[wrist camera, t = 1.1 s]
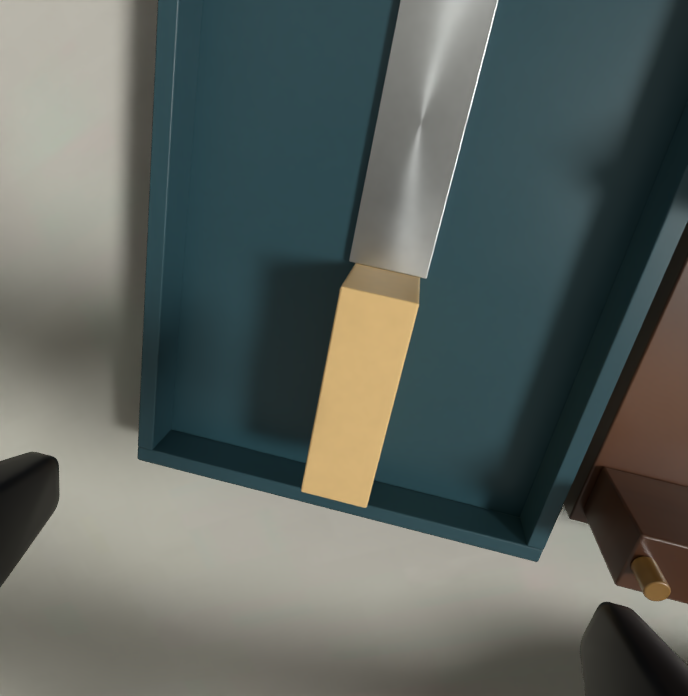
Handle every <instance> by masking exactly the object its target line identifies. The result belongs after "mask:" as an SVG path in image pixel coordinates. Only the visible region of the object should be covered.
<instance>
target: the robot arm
mask: <svg viewBox="0 0 688 696" xmlns="http://www.w3.org/2000/svg"><path fill="white" fill-rule="evenodd" d="M58 501H59V464H58V461H57V459H56V458H54V457H53V456H49V455H45V454H41V453H37V452H28V453H25V454H22V455H19V456H15V457H12V458H9V459H6V460H3V461H0V587H1V586H2V584H3V583H4V582H5V580H6V579H7V578H8V576H9V575H10V573H11V572H12V571H13V569H14V568H15V566H16V565H17V563H18V562H19V561H20V559H21V558H22V556H23V555H24V554H25V552H26V551H27V549H28V548H29V546H30V545H31V544H32V542H33V541H34V539H35V538H36V537H37V535H38V534H39V532H40V531H41V529H42V528H43V527H44V525H45V524H46V522H47V521H48V520H49V518H50V517H51V515H52V514H53V512H54V511H55V509H56V507H57V504H58ZM580 656H581V664H582V672H583V680H584V688H585V695H586V696H688V666H687V665H686V664H685V663H684V662H683V661H682V660H681V659H680V658H679V657H678V656H677V655H676V654H675V653H674V652H673V651H672V650H671V649H670V648H669V647H668V645H667V644H666V643H665V642H664V641H663V640H662V639H661V638H660V637H659V636H658V635H657V634H656V633H655V632H654V631H653V630H652V629H651V628H650V627H649V626H648V625H647V624H646V623H645V622H644V621H643V620H642V619H641V618H640V617H639V616H638V615H637V614H636V613H635V612H634V611H633V610H632V609H630V608H628V607H625V606H621V605H617V604H614V603H610V602H603V603H601V604H600V605H599V606H598V608H597V610H596V611H595V613H594V615H593V617H592V619H591V621H590V623H589V625H588V627H587V629H586V631H585V632H584V634H583V637H582V640H581V645H580Z"/></svg>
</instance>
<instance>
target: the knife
mask: <svg viewBox="0 0 688 696" xmlns="http://www.w3.org/2000/svg"><path fill="white" fill-rule="evenodd" d="M498 2H499V0H400V5H399V10H398V15H397V21H396V26H395V31H394V36H393V41H392V46H391V51H390V56H389V61H388V66H387V71H386V76H385V81H384V86H383V91H382V97H381V102H380V107H379V112H378V117H377V122H376V127H375V132H374V137H373V142H372V147H371V152H370V157H369V162H368V167H367V172H366V178H365V183H364V188H363V193H362V198H361V203H360V208H359V213H358V218H357V223H356V228H355V233H354V238H353V243H352V248H351V253H350V259H349V262H353V263H355V265H354V266H353V268H352V270H351V271H350V273H349V275H348V276H347V278H346V279H345V281H344V283H343V284H342V286H341V287H340V291H339V296H338V302H337V307H336V312H335V317H334V322H333V327H332V332H331V337H330V343H329V348H328V353H327V358H326V363H325V368H324V373H323V379H322V384H321V389H320V394H319V399H318V404H317V409H316V415H315V420H314V425H313V430H312V435H311V440H310V445H309V450H308V456H307V461H306V466H305V471H304V476H303V481H302V486H301V491H302V492H304V493H308V494H312V495H316V496H320V497H324V498H328V499H332V500H336V501H339V502H343V503H347V504H351V505H355V506H359V507H363V508H366V507H367V505H368V501H369V497H370V493H371V489H372V485H373V481H374V478H375V474H376V470H377V466H378V462H379V458H380V454H381V451H382V447H383V443H384V439H385V435H386V431H387V427H388V424H389V420H390V416H391V412H392V408H393V404H394V400H395V396H396V393H397V389H398V385H399V381H400V377H401V373H402V369H403V366H404V362H405V358H406V354H407V350H408V346H409V342H410V339H411V335H412V331H413V327H414V323H415V319H416V315H417V311H418V308H419V293H420V278H424V279H426V278H427V276H428V272H429V268H430V264H431V260H432V256H433V252H434V249H435V245H436V241H437V237H438V233H439V229H440V225H441V222H442V218H443V214H444V210H445V206H446V202H447V198H448V195H449V191H450V187H451V183H452V179H453V175H454V171H455V168H456V164H457V160H458V156H459V152H460V148H461V144H462V141H463V137H464V133H465V129H466V125H467V121H468V117H469V114H470V110H471V106H472V102H473V98H474V94H475V90H476V87H477V83H478V79H479V75H480V71H481V67H482V63H483V60H484V56H485V52H486V48H487V44H488V40H489V36H490V33H491V29H492V25H493V21H494V17H495V13H496V10H497V6H498Z"/></svg>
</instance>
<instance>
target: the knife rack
mask: <svg viewBox="0 0 688 696" xmlns="http://www.w3.org/2000/svg"><path fill="white" fill-rule="evenodd" d="M564 506H565V509H566V511H567V514H568V516H569V518H570V519H572V520H576V521H580V522H584V523H588V524H589V526H590V528H591V530H592V533H593V535H594V537H595V539H596V542H597V544H598V546H599V549H600V551H601V553H602V555H603V558H604V560H605V562H606V565H607V567H608V569H609V571H610V574H611V576H612V578H613V581H614V583H615V584H616V585H617V586H621V587H625V588H629V589H633V590H636V591H640V592H643V594H644V596H645V597H646V598H648V599H649V600H652V601H662V600H664V599H666V598H667V599H671V600H675V601H679V602H683V603H687V604H688V221H687V224H686V226H685V228H684V231H683V233H682V235H681V237H680V240H679V242H678V244H677V246H676V249H675V251H674V253H673V256H672V258H671V260H670V262H669V265H668V267H667V269H666V272H665V274H664V276H663V278H662V281H661V283H660V285H659V287H658V290H657V292H656V294H655V297H654V299H653V301H652V303H651V306H650V308H649V310H648V313H647V315H646V317H645V319H644V322H643V324H642V326H641V328H640V331H639V333H638V335H637V338H636V340H635V342H634V344H633V347H632V349H631V351H630V354H629V356H628V358H627V360H626V363H625V365H624V367H623V369H622V372H621V374H620V376H619V379H618V381H617V383H616V385H615V388H614V390H613V392H612V395H611V397H610V399H609V401H608V404H607V406H606V408H605V410H604V413H603V415H602V417H601V420H600V422H599V424H598V426H597V429H596V431H595V433H594V436H593V438H592V440H591V442H590V445H589V447H588V449H587V451H586V454H585V456H584V458H583V461H582V463H581V465H580V467H579V470H578V472H577V474H576V477H575V479H574V481H573V483H572V486H571V488H570V490H569V492H568V495H567V497H566V499H565V502H564Z"/></svg>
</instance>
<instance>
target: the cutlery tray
mask: <svg viewBox="0 0 688 696" xmlns="http://www.w3.org/2000/svg"><path fill="white" fill-rule="evenodd" d="M399 5H400V0H158V14H157V36H156V58H155V80H154V103H153V125H152V147H151V169H150V191H149V214H148V236H147V258H146V280H145V302H144V324H143V347H142V369H141V391H140V413H139V435H138V446H139V447H138V459H139V460H142V461H146V462H150V463H154V464H158V465H162V466H166V467H170V468H173V469H177V470H181V471H185V472H189V473H193V474H197V475H201V476H205V477H208V478H212V479H216V480H220V481H224V482H228V483H232V484H236V485H240V486H244V487H247V488H251V489H255V490H259V491H263V492H267V493H271V494H275V495H279V496H282V497H286V498H290V499H294V500H298V501H302V502H306V503H310V504H314V505H317V506H321V507H325V508H329V509H333V510H337V511H341V512H345V513H349V514H352V515H356V516H360V517H364V518H368V519H372V520H376V521H380V522H384V523H387V524H391V525H395V526H399V527H403V528H407V529H411V530H415V531H419V532H422V533H426V534H430V535H434V536H438V537H442V538H446V539H450V540H454V541H457V542H461V543H465V544H469V545H473V546H477V547H481V548H485V549H489V550H493V551H496V552H500V553H504V554H508V555H512V556H516V557H520V558H524V559H528V560H531V561H535V562H538V560H539V558H540V555H541V553H542V551H543V550H542V549H544V547H545V545H546V543H547V540H548V538H549V536H550V533H551V531H552V529H553V527H554V524H555V522H556V520H557V518H558V515H559V513H560V511H561V508H562V506H563V504H564V502H565V499H566V497H567V495H568V492H569V490H570V488H571V486H572V483H573V481H574V479H575V477H576V474H577V472H578V470H579V467H580V465H581V463H582V461H583V458H584V456H585V454H586V451H587V449H588V447H589V445H590V442H591V440H592V438H593V436H594V433H595V431H596V429H597V426H598V424H599V422H600V420H601V417H602V415H603V413H604V410H605V408H606V406H607V404H608V401H609V399H610V397H611V395H612V392H613V390H614V388H615V385H616V383H617V381H618V379H619V376H620V374H621V372H622V369H623V367H624V365H625V363H626V360H627V358H628V356H629V354H630V351H631V349H632V347H633V344H634V342H635V340H636V338H637V335H638V333H639V331H640V328H641V326H642V324H643V322H644V319H645V317H646V315H647V313H648V310H649V308H650V306H651V303H652V301H653V299H654V297H655V294H656V292H657V290H658V287H659V285H660V283H661V281H662V278H663V276H664V274H665V272H666V269H667V267H668V265H669V262H670V260H671V258H672V256H673V253H674V251H675V249H676V246H677V244H678V242H679V240H680V237H681V235H682V233H683V231H684V228H685V226H686V224H687V221H688V0H499V2H498V6H497V10H496V13H495V17H494V21H493V25H492V29H491V33H490V36H489V40H488V44H487V48H486V52H485V56H484V60H483V63H482V67H481V71H480V75H479V79H478V83H477V87H476V90H475V94H474V98H473V102H472V106H471V110H470V114H469V117H468V121H467V125H466V129H465V133H464V137H463V141H462V144H461V148H460V152H459V156H458V160H457V164H456V168H455V171H454V175H453V179H452V183H451V187H450V191H449V195H448V198H447V202H446V206H445V210H444V214H443V218H442V222H441V225H440V229H439V233H438V237H437V241H436V245H435V249H434V252H433V256H432V260H431V264H430V268H429V272H428V276H427V278H426V279H424V278H420V293H419V308H418V311H417V315H416V319H415V323H414V327H413V331H412V335H411V339H410V342H409V346H408V350H407V354H406V358H405V362H404V366H403V369H402V373H401V377H400V381H399V385H398V389H397V393H396V396H395V400H394V404H393V408H392V412H391V416H390V420H389V424H388V427H387V431H386V435H385V439H384V443H383V447H382V451H381V454H380V458H379V462H378V466H377V470H376V474H375V478H374V481H373V485H372V489H371V493H370V497H369V501H368V505H367V507H366V508H363V507H359V506H355V505H351V504H347V503H343V502H339V501H336V500H332V499H328V498H324V497H320V496H316V495H312V494H308V493H304V492H302V491H301V486H302V481H303V476H304V471H305V466H306V461H307V456H308V450H309V445H310V440H311V435H312V430H313V425H314V420H315V415H316V409H317V404H318V399H319V394H320V389H321V384H322V379H323V373H324V368H325V363H326V358H327V353H328V348H329V343H330V337H331V332H332V327H333V322H334V317H335V312H336V307H337V302H338V296H339V291H340V287H341V286H342V284H343V283H344V281H345V279H346V278H347V276H348V275H349V273H350V271H351V270H352V268H353V266H354V265H355V263H353V262H349V259H350V253H351V248H352V243H353V238H354V233H355V228H356V223H357V218H358V213H359V208H360V203H361V198H362V193H363V188H364V183H365V178H366V172H367V167H368V162H369V157H370V152H371V147H372V142H373V137H374V132H375V127H376V122H377V117H378V112H379V107H380V102H381V97H382V91H383V86H384V81H385V76H386V71H387V66H388V61H389V56H390V51H391V46H392V41H393V36H394V31H395V26H396V21H397V15H398V10H399Z"/></svg>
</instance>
